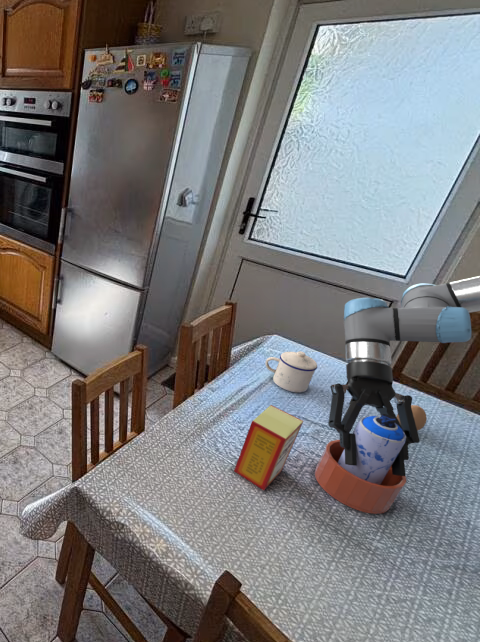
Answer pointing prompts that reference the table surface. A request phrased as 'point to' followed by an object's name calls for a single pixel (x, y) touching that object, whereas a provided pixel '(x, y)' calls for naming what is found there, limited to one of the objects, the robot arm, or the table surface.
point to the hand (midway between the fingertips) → (374, 469)
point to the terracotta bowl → (355, 484)
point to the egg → (417, 416)
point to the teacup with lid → (293, 371)
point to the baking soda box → (267, 446)
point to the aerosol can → (375, 447)
